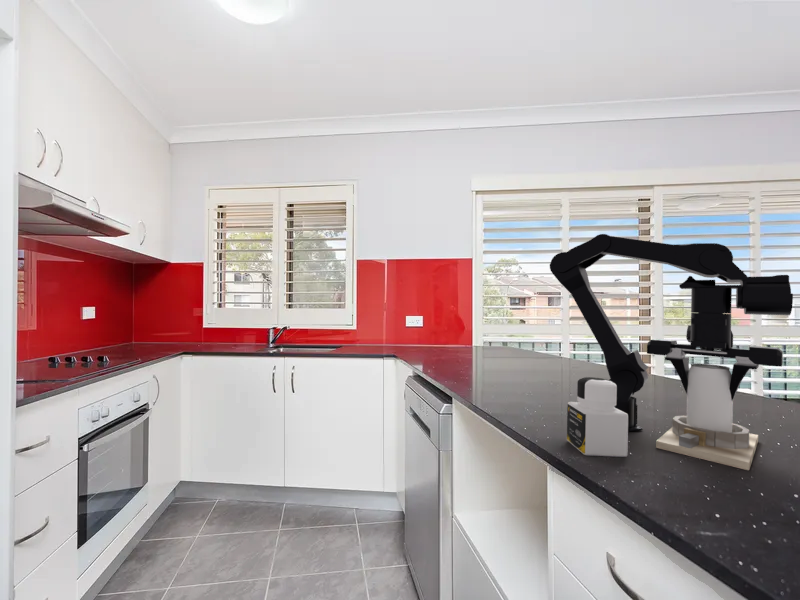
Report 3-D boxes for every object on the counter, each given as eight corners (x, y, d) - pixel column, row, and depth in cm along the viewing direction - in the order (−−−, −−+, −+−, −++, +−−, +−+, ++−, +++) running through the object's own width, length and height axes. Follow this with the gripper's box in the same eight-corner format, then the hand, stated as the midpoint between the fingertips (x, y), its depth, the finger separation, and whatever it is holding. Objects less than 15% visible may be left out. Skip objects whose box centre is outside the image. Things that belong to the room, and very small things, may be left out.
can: (714, 427, 72) (715, 364, 72) (742, 438, 65) (743, 369, 65) (678, 425, 72) (679, 362, 73) (702, 436, 66) (703, 367, 66)
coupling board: (749, 470, 57) (749, 446, 58) (656, 447, 66) (656, 426, 66) (758, 441, 71) (758, 421, 71) (680, 425, 80) (680, 408, 80)
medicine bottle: (566, 440, 69) (567, 374, 69) (605, 442, 68) (607, 375, 69) (584, 455, 61) (585, 382, 62) (628, 457, 61) (629, 383, 61)
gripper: (784, 315, 68) (782, 402, 68) (661, 312, 82) (659, 384, 81) (782, 315, 60) (781, 413, 60) (647, 311, 74) (645, 391, 74)
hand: (709, 398), depth 69 cm, fingers closed on can, 6 cm apart
